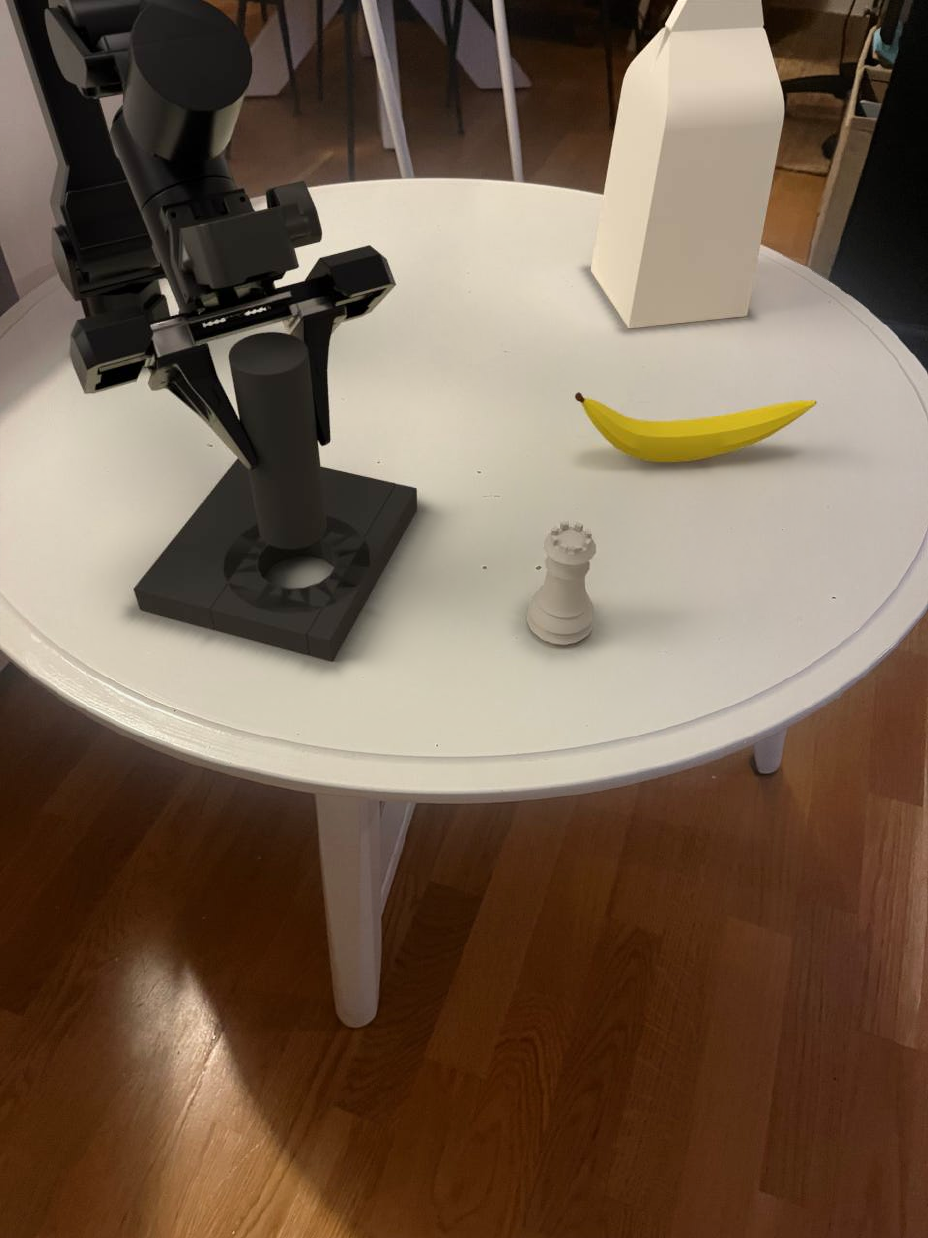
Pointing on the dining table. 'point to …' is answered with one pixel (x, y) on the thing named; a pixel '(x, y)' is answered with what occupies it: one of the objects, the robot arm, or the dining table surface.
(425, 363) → the dining table surface
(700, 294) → the milk
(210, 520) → the socket pad
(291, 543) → the post
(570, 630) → the rook chess piece
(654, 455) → the banana
